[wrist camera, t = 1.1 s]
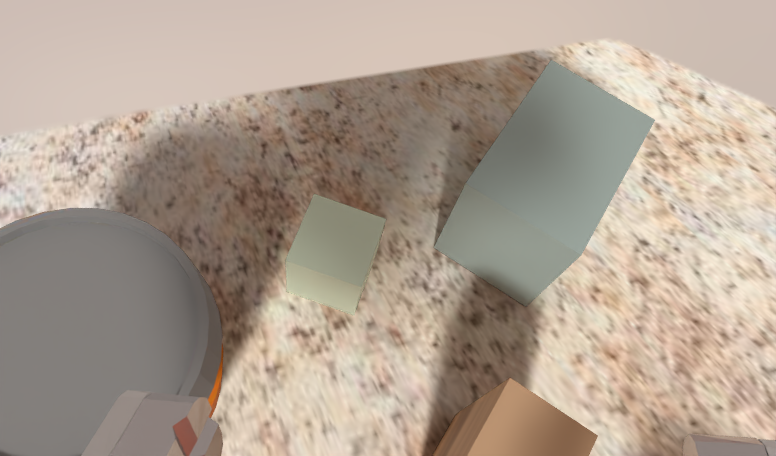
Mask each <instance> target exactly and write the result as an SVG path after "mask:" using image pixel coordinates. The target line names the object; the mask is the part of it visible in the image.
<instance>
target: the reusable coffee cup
mask: <svg viewBox="0 0 776 456" xmlns="http://www.w3.org/2000/svg"><path fill="white" fill-rule="evenodd" d="M222 366H223V345H222V329H221V322H220V315H219V310H218V307H217V305H216V302H215V300H214V297H213V294H212V292H211V289H210V287H209V286H208V284H207V283H206V281H205V280H204V278H203V277H202V275H201V274H200V272H199V271H198V269H197V268H196V267H195V265H194V264H193V263H192V262H191V260H190V259H189V258H188V256H187V255H186V254H185V253H184V251H183V250H182V249H180V248H179V247H178V246H177V245H176V244H175V243H174V242H173V241H172V240H171V239H170V238H169V237H168V236H167V235H166V234H164V233H163V232H161V231H160V230H158V229H156V228H155V227H153V226H152V225H150V224H149V223H147V222H145V221H142V220H139V219H137V218H134V217H132V216H129V215H127V214H124V213H120V212H114V211H109V210H104V209H98V208H68V209H61V210H54V211H47V212H42V213H39V214H36V215H33V216H29V217H26V218H23V219H20V220H17V221H14V222H12V223H10V224H8V225H6V226H4V227H2V228H0V456H81V455H82V454H83V452H84V450H85V449H86V447H87V446H88V444H89V443H90V441H91V439H92V438H93V436H94V435H95V433H96V431H97V430H98V428H99V427H100V425H101V424H102V422H103V420H104V419H105V417H106V416H107V414H108V413H109V411H110V409H111V408H112V406H113V405H114V403H115V401H116V400H117V398H118V397H119V396H120V395H121V394H123V393H124V392H125V391H127V390H133V391H146V392H155V393H165V394H176V395H186V396H197V397H207V399H208V402H209V404H210V406H211V408H212V410H211V413H210V415H209V418H211V416H212V414H213V412H214V410H215V408H216V405H217V401H218V397H219V393H220V389H221V379H222Z"/></svg>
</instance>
